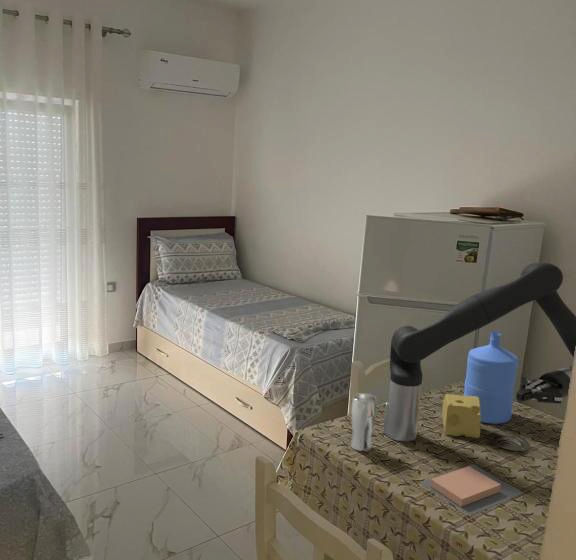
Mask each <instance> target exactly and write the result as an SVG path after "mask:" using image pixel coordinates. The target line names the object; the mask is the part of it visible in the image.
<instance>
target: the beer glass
mask: <svg viewBox="0 0 576 560" xmlns="http://www.w3.org/2000/svg"><path fill="white" fill-rule="evenodd" d="M350 415H351V418H350V420H351V428H352V429H351V430H352V437H351V441H350V448H351V447H352V448H353V450H354V449H355V450H354V451H356V450H359V451H358V452H361V451H365V452H369V451H371V450H372V448H373V447H372V433H373V429H374V425H375V421H376V416H377V396H375V395H373V394H371V393H365V392H359V393H355V394H353V396H352V404H351V413H350ZM352 448H351V449H352Z"/></svg>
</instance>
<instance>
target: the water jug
mask: <svg viewBox="0 0 576 560" xmlns="http://www.w3.org/2000/svg"><path fill="white" fill-rule="evenodd" d="M501 337H502V334H501V333H500V332H499V333H498V332H490V337H489V344H488V345H487V344H486V345H484V346H478V347H475V348H471V349H470V350H469V351H468V356H467V359H466V361H467V365H466V375H465V380H464V393H463V396H477V397H478V398H479V402H480V415H481V422H480V423H484V424H491V425H496V424H499V425H500V424H504V423H508V422H509V421H510V420H511V419H512V413H513V403H514V398H513V397H514V390H515V383H516V379H517V372H518V368H519V358H518V356H516V355H515V354H514V353H512V352H510V351H509V350H507V349H505V348H503V347H501Z"/></svg>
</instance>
